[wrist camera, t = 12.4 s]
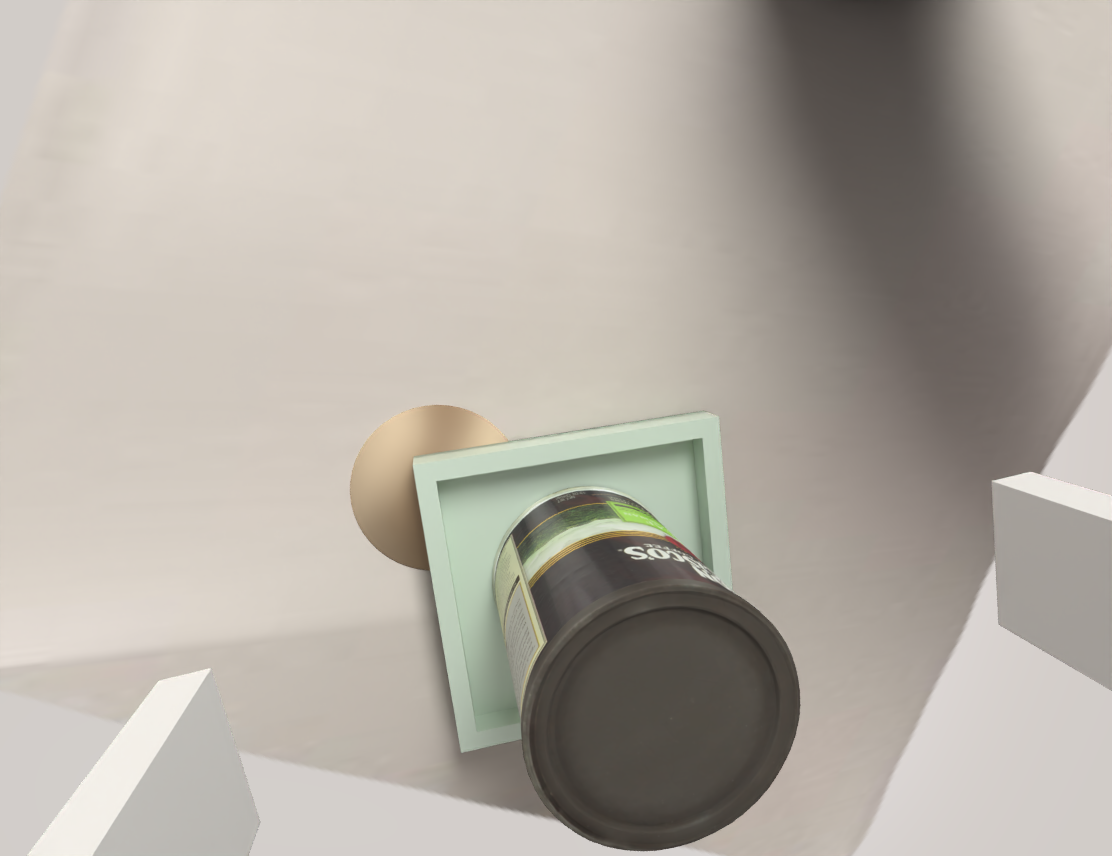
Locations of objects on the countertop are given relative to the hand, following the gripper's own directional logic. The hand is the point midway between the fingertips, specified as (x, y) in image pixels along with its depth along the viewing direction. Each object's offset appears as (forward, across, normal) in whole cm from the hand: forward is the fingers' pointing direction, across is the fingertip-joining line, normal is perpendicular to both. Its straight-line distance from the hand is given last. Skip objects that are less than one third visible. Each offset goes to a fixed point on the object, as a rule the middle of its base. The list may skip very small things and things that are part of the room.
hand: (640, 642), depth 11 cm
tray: (+26, +2, -10) cm, 28 cm away
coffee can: (+25, +2, -10) cm, 27 cm away
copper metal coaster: (+26, -4, -4) cm, 27 cm away
